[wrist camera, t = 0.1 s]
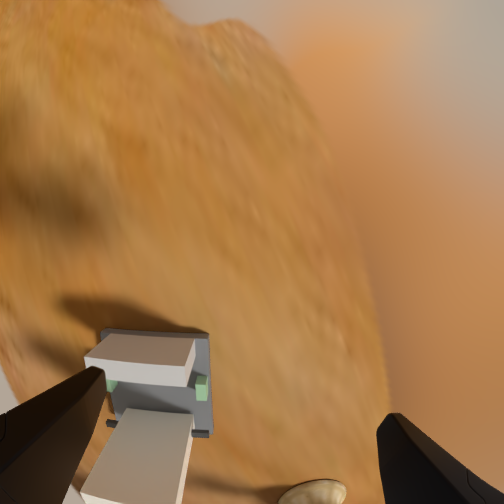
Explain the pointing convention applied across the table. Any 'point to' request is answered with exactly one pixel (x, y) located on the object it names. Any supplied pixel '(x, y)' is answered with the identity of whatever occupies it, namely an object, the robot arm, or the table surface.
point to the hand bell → (315, 493)
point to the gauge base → (156, 372)
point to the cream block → (143, 459)
